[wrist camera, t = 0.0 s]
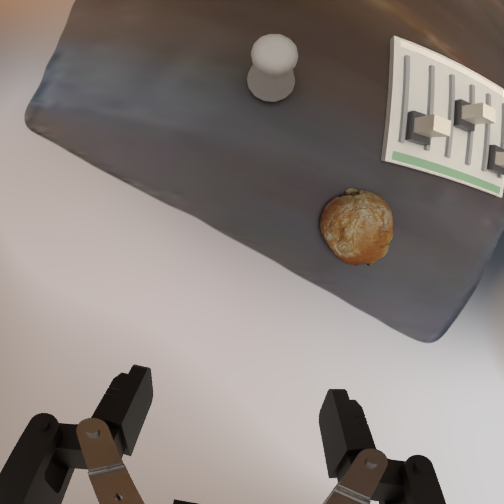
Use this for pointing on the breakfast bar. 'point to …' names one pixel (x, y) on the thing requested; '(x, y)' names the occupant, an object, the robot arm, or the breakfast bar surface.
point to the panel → (442, 104)
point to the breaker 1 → (426, 127)
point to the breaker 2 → (472, 115)
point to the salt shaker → (272, 67)
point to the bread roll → (357, 226)
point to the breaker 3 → (496, 159)
